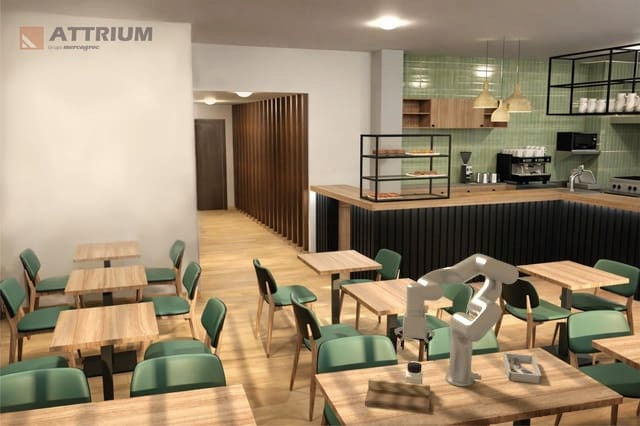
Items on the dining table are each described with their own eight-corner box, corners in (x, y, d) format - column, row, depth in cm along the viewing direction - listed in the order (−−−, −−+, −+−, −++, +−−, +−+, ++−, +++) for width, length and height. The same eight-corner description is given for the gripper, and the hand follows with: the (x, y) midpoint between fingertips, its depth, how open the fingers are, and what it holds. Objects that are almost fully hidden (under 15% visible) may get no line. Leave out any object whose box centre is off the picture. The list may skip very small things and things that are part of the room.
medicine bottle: (421, 393, 240) (422, 367, 238) (404, 391, 241) (405, 365, 239) (422, 386, 246) (423, 360, 244) (405, 384, 248) (406, 359, 246)
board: (429, 398, 235) (430, 385, 235) (428, 412, 224) (429, 398, 223) (368, 391, 241) (368, 378, 240) (364, 405, 229) (365, 391, 228)
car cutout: (505, 364, 269) (506, 355, 268) (517, 362, 271) (518, 354, 270) (525, 378, 255) (525, 368, 254) (537, 376, 256) (538, 367, 256)
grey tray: (533, 362, 272) (533, 355, 272) (541, 383, 250) (541, 376, 249) (503, 359, 275) (503, 352, 275) (508, 380, 253) (509, 372, 252)
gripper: (435, 310, 239) (434, 347, 242) (395, 307, 243) (394, 344, 246) (435, 316, 232) (434, 354, 235) (394, 313, 236) (393, 351, 238)
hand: (414, 349), depth 240 cm, fingers open, 9 cm apart
